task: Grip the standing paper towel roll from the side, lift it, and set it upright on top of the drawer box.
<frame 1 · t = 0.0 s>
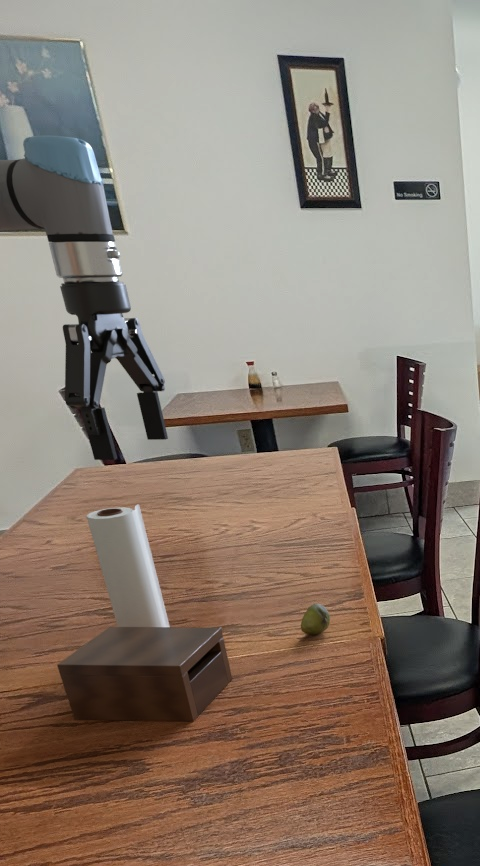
hand: (133, 448, 114), 30 cm above the table, tool pointing down, fingers open, 13 cm apart
lime: (317, 634, 130), on the table
drawer box: (157, 698, 112), on the table
paper towel roll: (150, 646, 127), on the table
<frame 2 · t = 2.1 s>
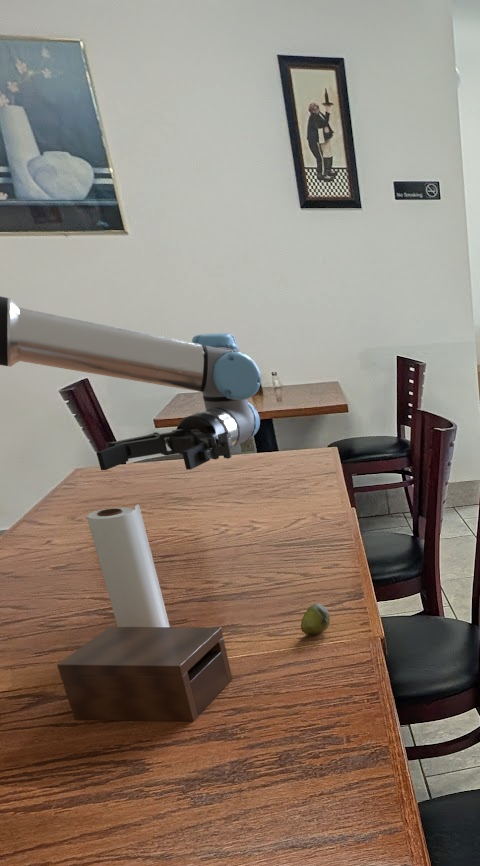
hand: (143, 461, 125), 26 cm above the table, tool horizontal, fingers open, 13 cm apart
nothing on the table moved.
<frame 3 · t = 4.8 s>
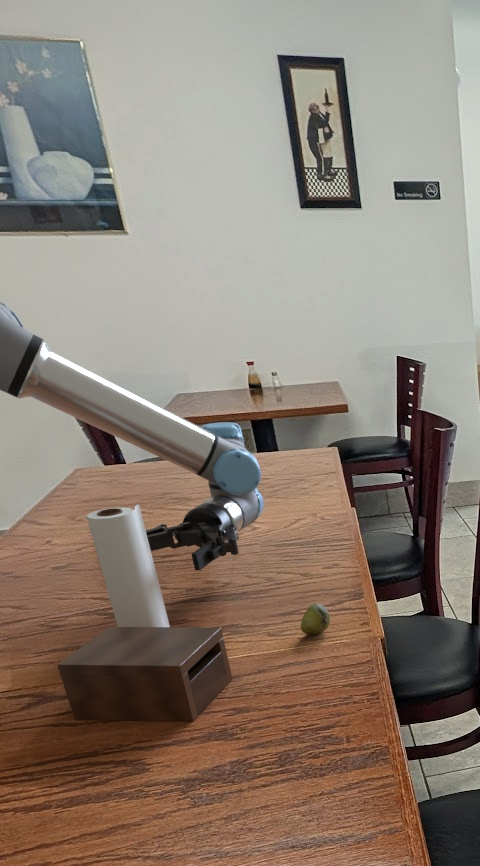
hand: (153, 562, 128), 11 cm above the table, tool horizontal, fingers open, 13 cm apart
nothing on the table moved.
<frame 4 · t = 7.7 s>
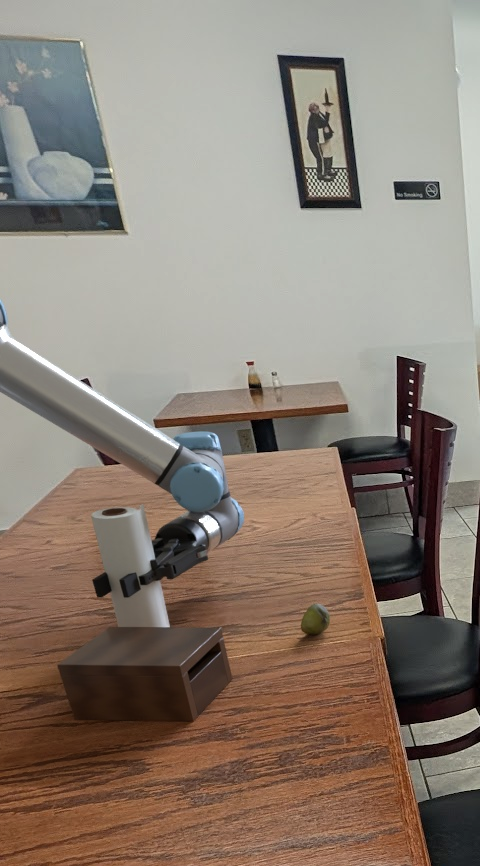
hand: (110, 588, 117), 12 cm above the table, tool horizontal, fingers closed on paper towel roll, 3 cm apart
paper towel roll: (149, 646, 127), on the table, touching gripper
everything else where it was.
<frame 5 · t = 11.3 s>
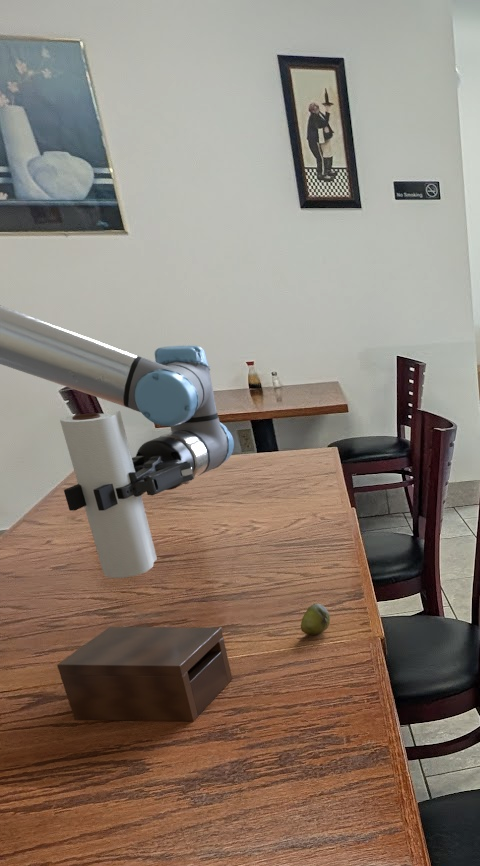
hand: (84, 500, 105), 26 cm above the table, tool horizontal, fingers closed on paper towel roll, 3 cm apart
paper towel roll: (132, 572, 116), point 14 cm above the table, touching gripper
everything else where it was.
when the fingers open (20 cm above the table, at t = 15.3 s): paper towel roll stays where it is, resting on drawer box.
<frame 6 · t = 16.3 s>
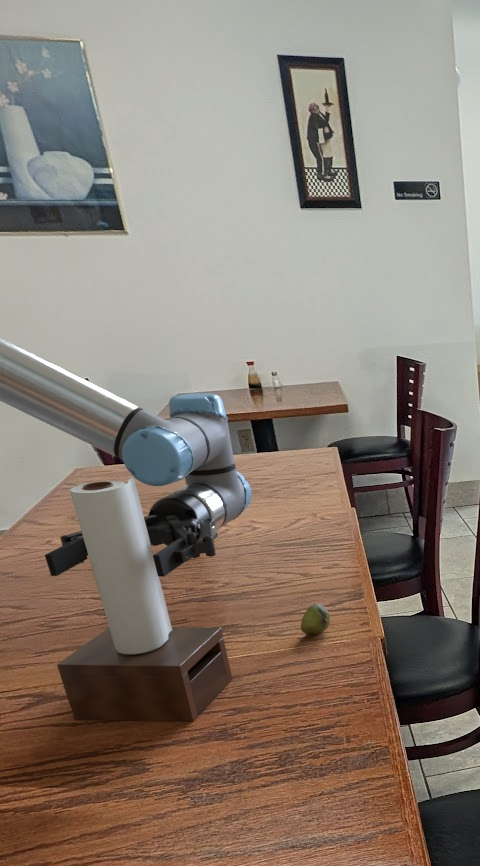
hand: (104, 565, 100), 20 cm above the table, tool horizontal, fingers open, 13 cm apart
paper towel roll: (146, 646, 108), point 8 cm above the table, touching drawer box
everything else where it was.
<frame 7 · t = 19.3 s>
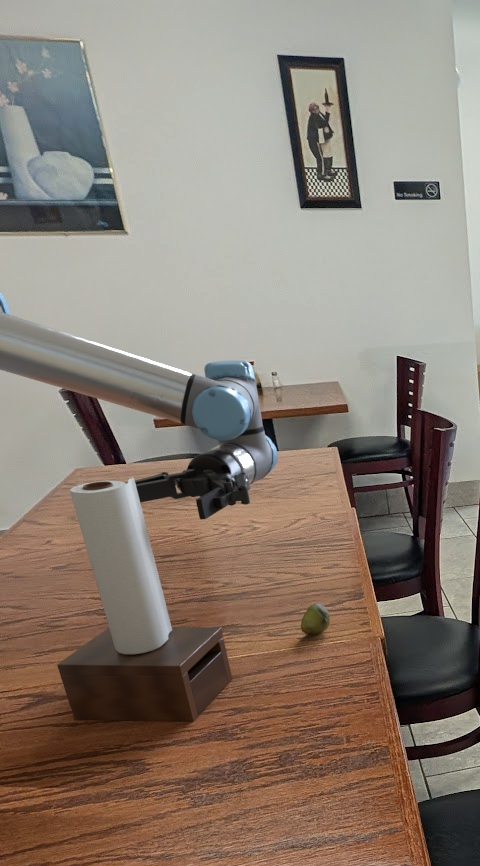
hand: (151, 509, 111), 23 cm above the table, tool horizontal, fingers open, 13 cm apart
nothing on the table moved.
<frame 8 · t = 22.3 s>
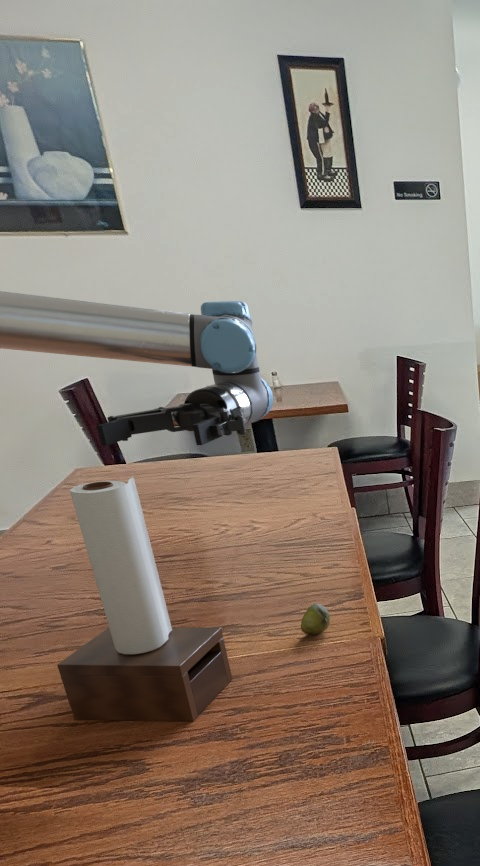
hand: (149, 435, 113), 32 cm above the table, tool horizontal, fingers open, 13 cm apart
nothing on the table moved.
at the end: paper towel roll inside the target area on the drawer box (0.5 cm from its centre), point 7.8 cm above the drawer box's base; paper towel roll tilted 0°; the gripper is holding nothing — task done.
